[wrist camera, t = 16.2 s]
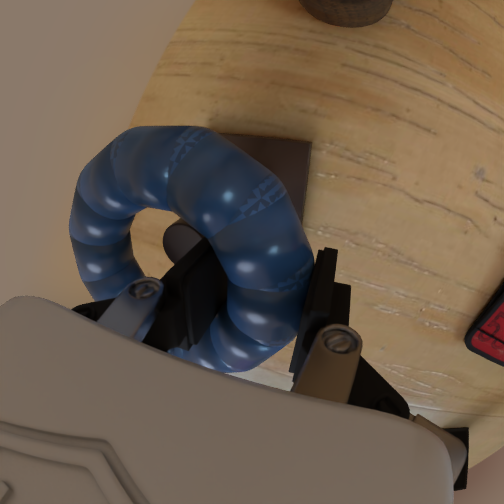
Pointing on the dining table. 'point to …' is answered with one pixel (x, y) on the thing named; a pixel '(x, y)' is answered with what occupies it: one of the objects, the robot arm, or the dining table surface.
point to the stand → (273, 158)
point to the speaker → (464, 437)
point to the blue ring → (205, 222)
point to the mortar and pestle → (348, 11)
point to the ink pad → (489, 331)
